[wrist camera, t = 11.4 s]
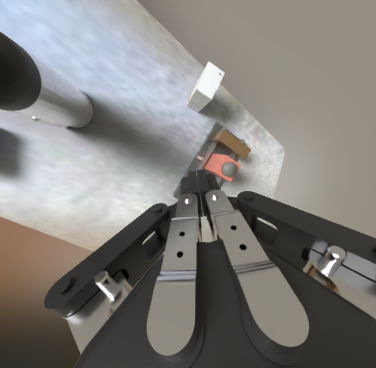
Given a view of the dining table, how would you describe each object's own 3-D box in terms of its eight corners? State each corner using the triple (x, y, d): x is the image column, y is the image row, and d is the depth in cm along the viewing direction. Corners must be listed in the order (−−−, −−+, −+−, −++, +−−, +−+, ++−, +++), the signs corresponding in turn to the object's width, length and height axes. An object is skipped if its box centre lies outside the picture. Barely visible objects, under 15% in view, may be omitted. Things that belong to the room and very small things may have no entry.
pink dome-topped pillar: (215, 175, 46) (232, 183, 36) (203, 167, 45) (216, 173, 34) (223, 161, 46) (243, 165, 35) (211, 153, 44) (228, 155, 34)
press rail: (202, 210, 50) (210, 220, 43) (173, 194, 47) (175, 203, 39) (243, 144, 47) (258, 143, 40) (215, 123, 44) (226, 118, 37)
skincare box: (194, 84, 40) (209, 59, 29) (207, 93, 41) (226, 72, 30) (185, 105, 41) (195, 89, 30) (198, 113, 42) (212, 100, 31)
